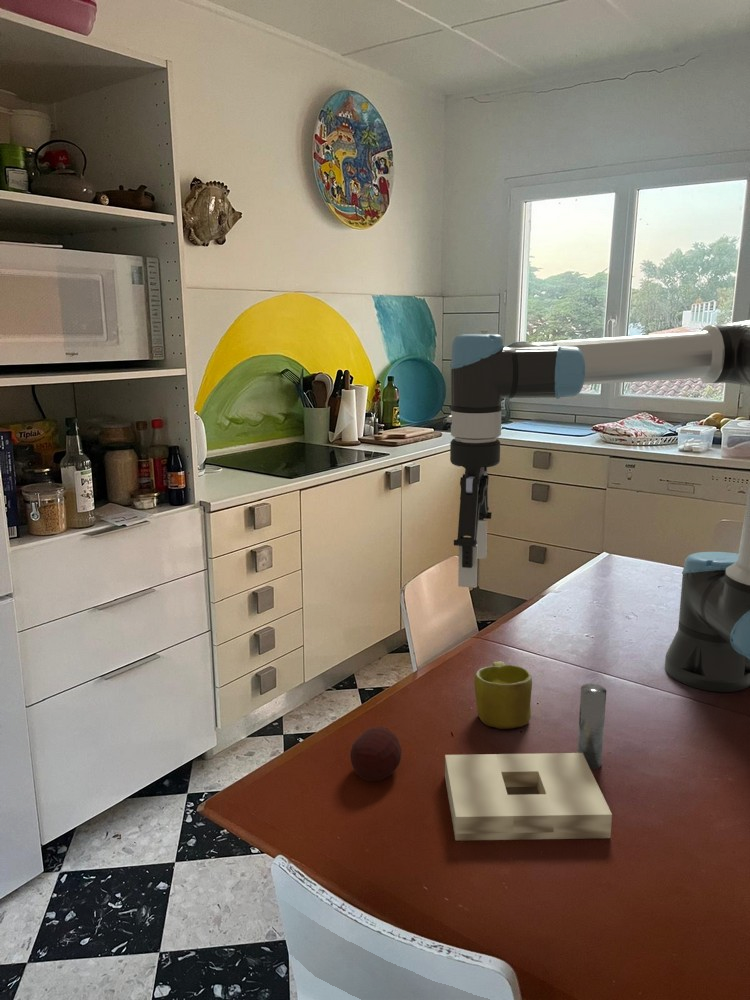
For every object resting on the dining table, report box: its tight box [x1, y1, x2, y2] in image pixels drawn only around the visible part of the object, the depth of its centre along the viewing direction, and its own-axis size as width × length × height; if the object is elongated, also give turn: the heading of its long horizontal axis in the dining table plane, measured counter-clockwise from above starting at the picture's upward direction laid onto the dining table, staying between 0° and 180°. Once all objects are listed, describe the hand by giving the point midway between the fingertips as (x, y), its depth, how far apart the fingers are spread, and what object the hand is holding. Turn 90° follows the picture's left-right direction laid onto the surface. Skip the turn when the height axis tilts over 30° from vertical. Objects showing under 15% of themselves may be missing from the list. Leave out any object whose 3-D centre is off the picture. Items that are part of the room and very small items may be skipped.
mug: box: [473, 660, 533, 730], centre depth 128 cm, size 12×10×10 cm
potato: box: [350, 726, 402, 782], centre depth 113 cm, size 7×10×6 cm
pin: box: [576, 683, 607, 770], centre depth 114 cm, size 4×4×12 cm
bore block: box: [444, 752, 613, 842], centre depth 105 cm, size 20×14×4 cm
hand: (473, 571), depth 121 cm, fingers open, 13 cm apart
